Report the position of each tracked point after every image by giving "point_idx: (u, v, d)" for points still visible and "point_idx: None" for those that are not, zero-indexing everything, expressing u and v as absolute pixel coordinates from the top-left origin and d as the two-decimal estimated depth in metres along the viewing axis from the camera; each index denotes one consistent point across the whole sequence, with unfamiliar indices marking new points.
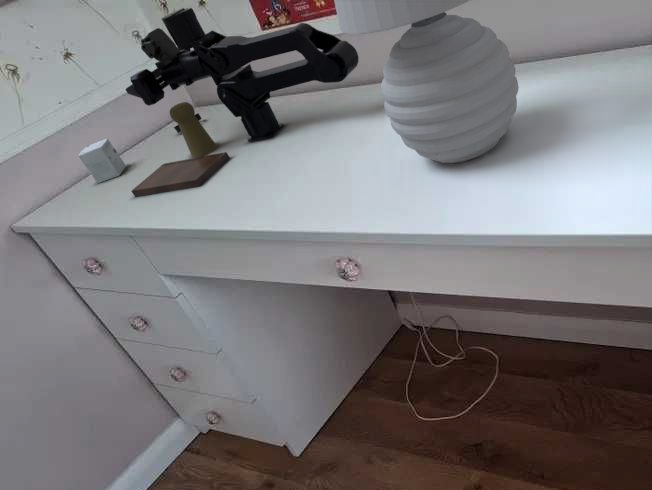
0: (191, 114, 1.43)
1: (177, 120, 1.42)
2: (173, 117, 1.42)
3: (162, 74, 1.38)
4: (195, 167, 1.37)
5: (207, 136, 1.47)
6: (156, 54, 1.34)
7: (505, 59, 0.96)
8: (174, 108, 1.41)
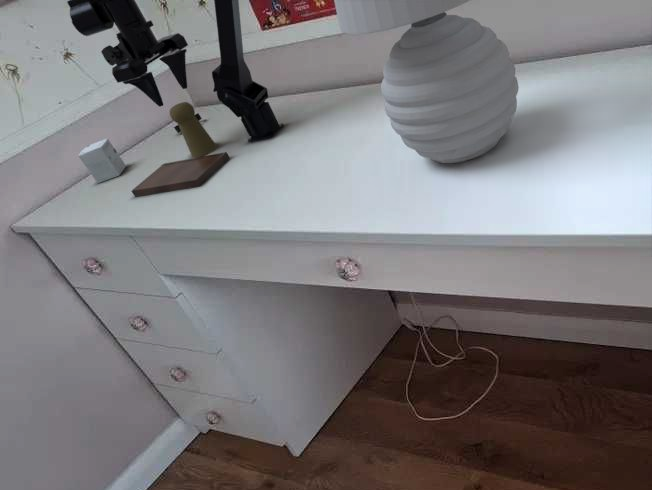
0: (191, 114, 1.43)
1: (177, 120, 1.42)
2: (173, 117, 1.42)
3: (137, 57, 1.34)
4: (195, 167, 1.37)
5: (207, 136, 1.47)
6: (113, 51, 1.33)
7: (505, 59, 0.96)
8: (174, 108, 1.41)
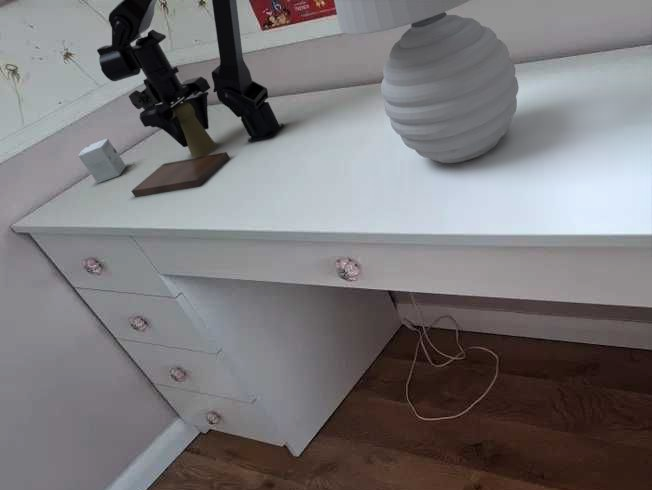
0: (191, 114, 1.43)
1: None
2: None
3: (162, 101, 1.39)
4: (195, 167, 1.37)
5: (207, 136, 1.47)
6: (140, 96, 1.39)
7: (505, 59, 0.96)
8: (174, 108, 1.41)
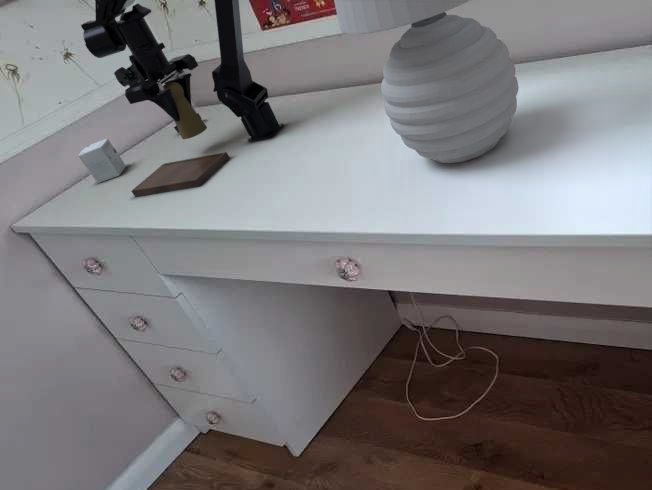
0: (180, 94, 1.40)
1: None
2: None
3: (149, 78, 1.36)
4: (195, 167, 1.37)
5: (197, 117, 1.44)
6: (126, 73, 1.36)
7: (505, 59, 0.96)
8: None
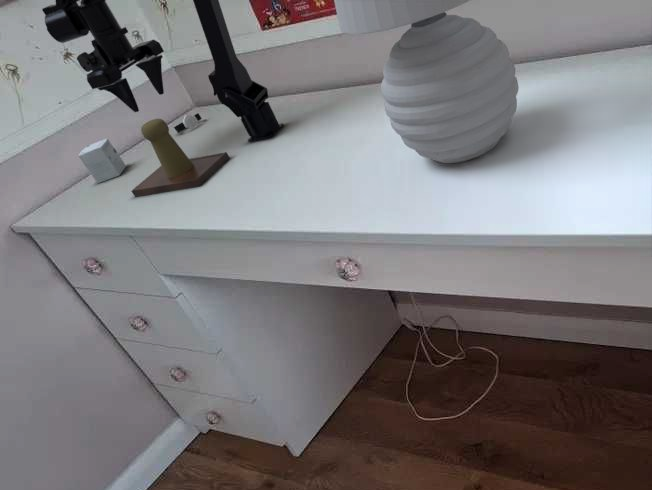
0: (164, 132, 1.32)
1: (149, 138, 1.31)
2: (145, 135, 1.31)
3: (112, 63, 1.35)
4: (195, 167, 1.37)
5: (183, 155, 1.36)
6: (88, 58, 1.34)
7: (505, 59, 0.96)
8: (146, 125, 1.30)
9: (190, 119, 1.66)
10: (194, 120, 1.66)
